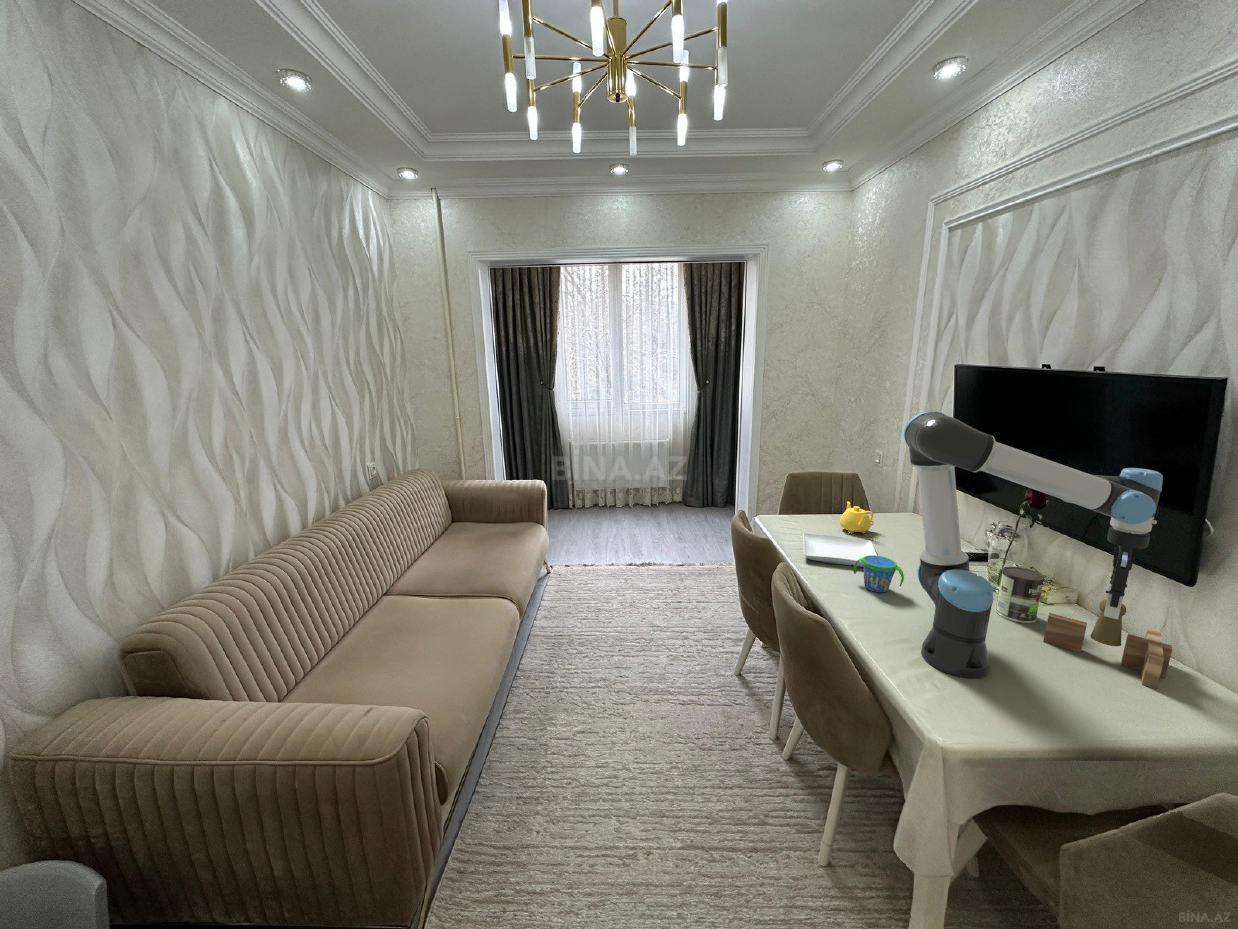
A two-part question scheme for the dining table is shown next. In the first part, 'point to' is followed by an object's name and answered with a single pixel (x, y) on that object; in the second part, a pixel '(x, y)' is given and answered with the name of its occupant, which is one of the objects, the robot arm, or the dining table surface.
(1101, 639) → the cork
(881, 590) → the snack cup
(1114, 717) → the dining table surface
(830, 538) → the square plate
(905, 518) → the dining table surface
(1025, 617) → the coffee can
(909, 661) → the dining table surface
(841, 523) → the teapot
